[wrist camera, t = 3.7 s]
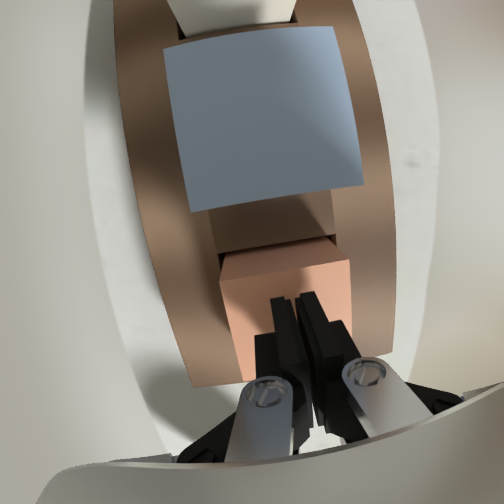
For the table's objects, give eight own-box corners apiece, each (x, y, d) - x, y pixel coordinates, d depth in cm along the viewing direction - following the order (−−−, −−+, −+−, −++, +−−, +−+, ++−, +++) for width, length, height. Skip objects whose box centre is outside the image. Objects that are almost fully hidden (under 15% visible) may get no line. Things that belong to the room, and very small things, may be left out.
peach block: (228, 241, 17) (219, 281, 11) (315, 226, 17) (348, 259, 11) (244, 318, 18) (243, 381, 13) (323, 304, 18) (351, 361, 12)
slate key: (196, 92, 12) (162, 49, 7) (299, 77, 12) (332, 26, 7) (214, 192, 14) (190, 212, 8) (317, 175, 14) (364, 185, 8)
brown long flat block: (139, -5, 13) (114, -39, 9) (307, -31, 13) (320, -71, 8) (203, 342, 21) (193, 387, 16) (365, 313, 20) (392, 352, 16)
